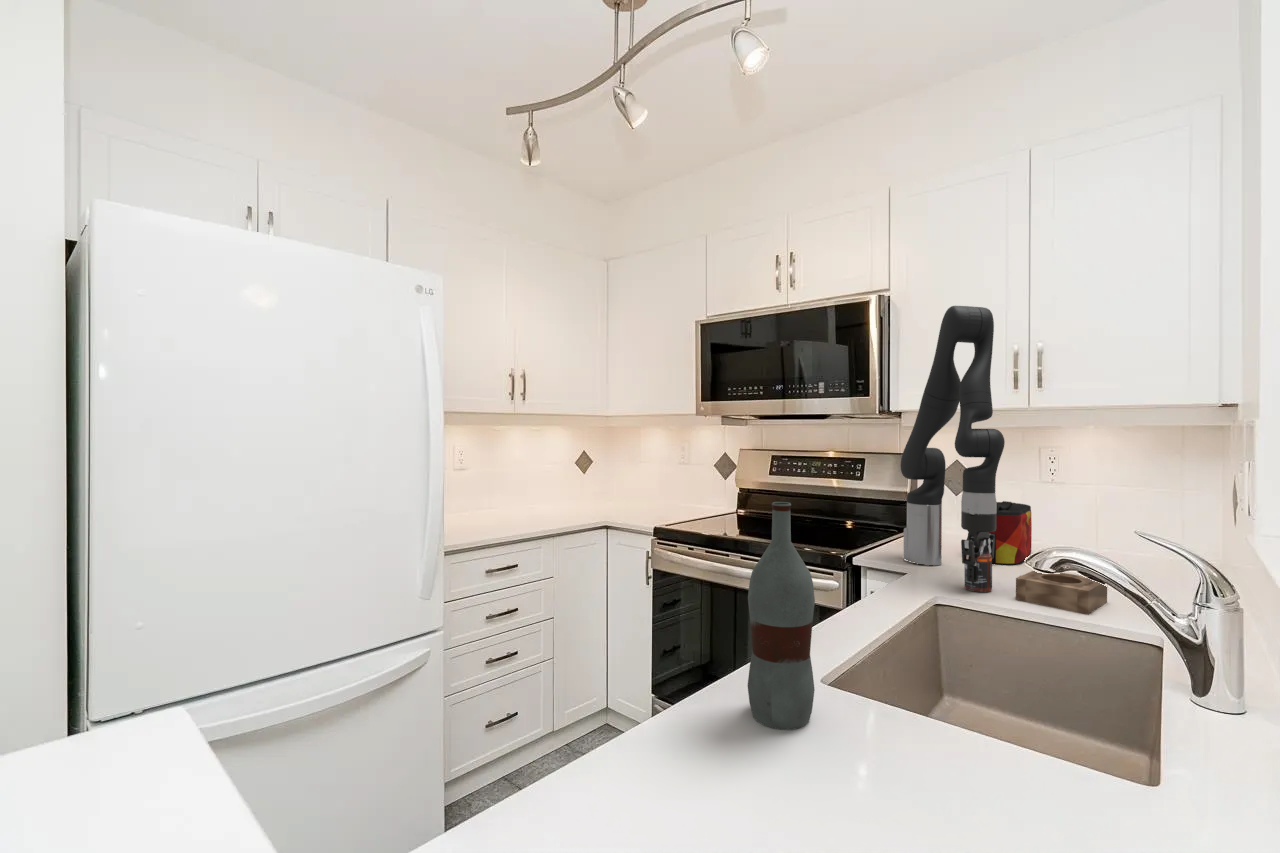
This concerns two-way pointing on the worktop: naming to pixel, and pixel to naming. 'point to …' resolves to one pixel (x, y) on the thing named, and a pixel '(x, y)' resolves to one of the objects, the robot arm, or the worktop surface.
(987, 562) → the supplement bottle
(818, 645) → the worktop surface
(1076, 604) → the socket block
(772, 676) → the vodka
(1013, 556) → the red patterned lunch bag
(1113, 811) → the worktop surface
